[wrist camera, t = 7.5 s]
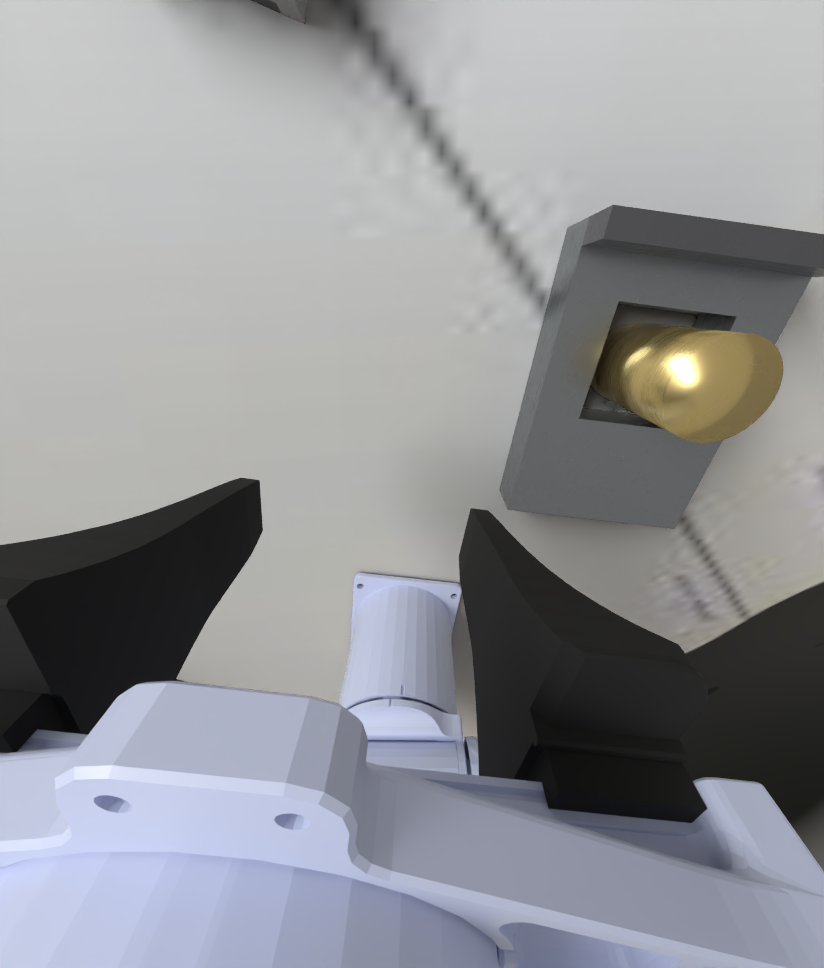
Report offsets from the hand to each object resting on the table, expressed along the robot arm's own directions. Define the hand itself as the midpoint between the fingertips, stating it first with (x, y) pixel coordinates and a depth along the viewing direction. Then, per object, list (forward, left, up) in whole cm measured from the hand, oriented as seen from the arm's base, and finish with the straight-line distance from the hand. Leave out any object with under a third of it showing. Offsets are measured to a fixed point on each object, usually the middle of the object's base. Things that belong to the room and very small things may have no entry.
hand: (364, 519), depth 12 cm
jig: (+4, -12, -10) cm, 17 cm away
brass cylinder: (+5, -12, -10) cm, 17 cm away
